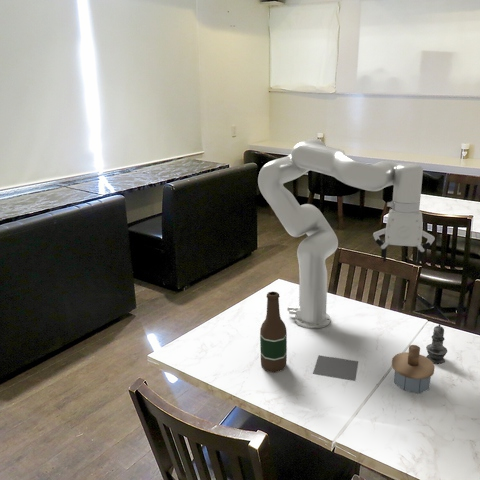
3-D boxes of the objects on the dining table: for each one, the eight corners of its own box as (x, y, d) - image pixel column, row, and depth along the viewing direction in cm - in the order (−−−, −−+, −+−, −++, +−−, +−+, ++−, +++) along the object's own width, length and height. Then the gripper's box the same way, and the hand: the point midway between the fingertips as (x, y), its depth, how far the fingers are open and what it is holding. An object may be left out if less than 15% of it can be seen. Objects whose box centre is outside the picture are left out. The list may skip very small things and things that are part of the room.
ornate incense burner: (440, 353, 141) (444, 318, 137) (449, 364, 135) (454, 328, 131) (421, 354, 141) (425, 319, 137) (430, 365, 135) (434, 329, 131)
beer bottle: (272, 355, 143) (271, 285, 135) (292, 365, 137) (292, 292, 130) (255, 366, 138) (253, 293, 130) (274, 376, 132) (274, 301, 125)
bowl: (393, 389, 125) (395, 373, 123) (394, 370, 133) (395, 355, 132) (429, 395, 122) (431, 379, 121) (428, 375, 130) (430, 360, 129)
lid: (391, 375, 123) (392, 355, 121) (392, 353, 133) (393, 334, 131) (435, 382, 119) (437, 361, 117) (433, 359, 129) (435, 340, 127)
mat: (312, 374, 133) (312, 373, 133) (318, 356, 142) (318, 355, 142) (354, 381, 129) (355, 380, 129) (358, 362, 138) (358, 361, 138)
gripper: (374, 208, 132) (370, 263, 138) (438, 211, 127) (432, 268, 132) (375, 202, 139) (372, 254, 144) (437, 205, 133) (431, 259, 139)
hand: (401, 261), depth 138 cm, fingers open, 9 cm apart
